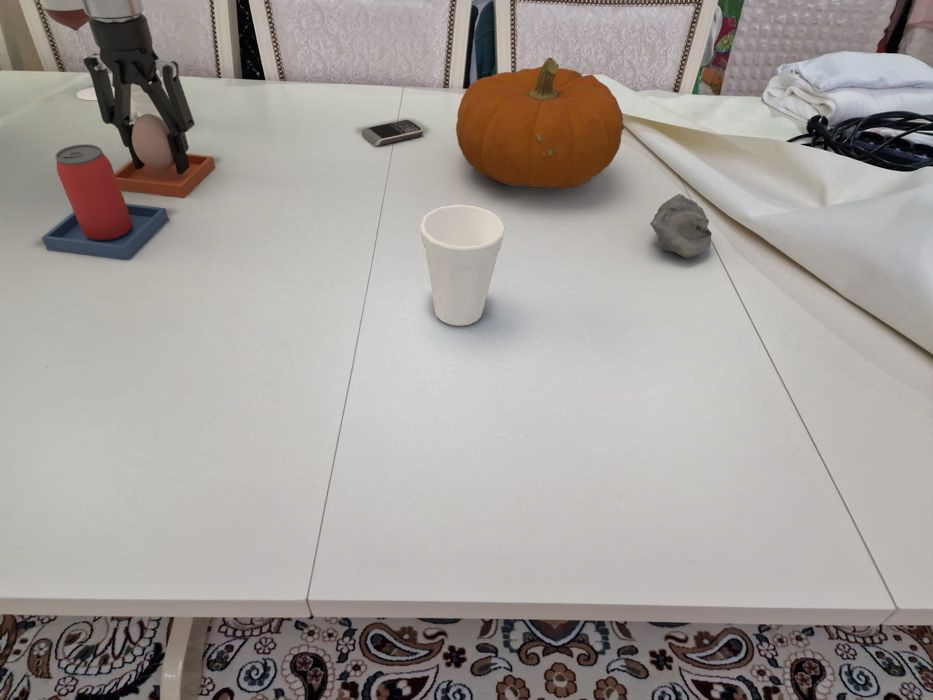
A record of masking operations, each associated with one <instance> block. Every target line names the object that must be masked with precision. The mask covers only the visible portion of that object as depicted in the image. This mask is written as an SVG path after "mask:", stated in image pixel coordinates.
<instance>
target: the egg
mask: <svg viewBox="0 0 933 700" xmlns="http://www.w3.org/2000/svg"><path fill="white" fill-rule="evenodd" d="M133 124H134V127H133V131H132V144H133V147H134V150H135V153H136V155H137V156H138V158H139V159H140V160H141V161H142V162H143V163H144V164H145V165H146V166H148V167H149V168H151V169H154V170H158V171H164V170H168V169H169V168H171V167H172V166H173V165H174V164H175V163H174V159H173V156H172V152H171V149H170V145H169V142H168V138H167V134H169V133H170V130H169V129H168V127H167V125H166V124H165V122H164V121H163V120H162V119H161V118H160V117H158V116H155V115H152V114H144V115H142V116H140V117H139V118H138V117H137V119H136V120H135V122H134V123H133Z"/></svg>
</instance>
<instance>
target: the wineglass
mask: <svg viewBox="0 0 933 700" xmlns="http://www.w3.org/2000/svg"><path fill="white" fill-rule="evenodd" d="M39 2H40V5H42V7H43V9H44V11H45V12H46V13H47V15H48V16H49V17H50V18H51V20H53V21H55V22H56V23H58V24H60V25H62V26H65V27H67V28H69V29H72V30H73V32H74V35H75V38H76V40H77V44H78V46H79V49H80V52H81V56H82V58H83V60H84V59H85V58H87V57H89V55H88V53H87V50H86V48H85V45H84V41H83V38H82V36H81V33H80V30H79V29H80V28H82V27H84V25H86V24H87V23H89V22H88V21H89V19H90V16H88V15H87V14H86V13H85V11H84V8H83V5H82V2H81V0H39ZM87 72H88V75H89V78H90V80H91V83H92V86H90V87H86V88H83V89H84V90H83V89H81V90H79V91H78V92H76V94H77V96H76V98H78V99H80V100H84V101H97V97H96V93H95V89H94V85H93V82H92V78H91V74H90V73H89V71H88V70H87ZM111 87H112V91H113V95H114V87H113V86H111Z"/></svg>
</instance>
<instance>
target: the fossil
mask: <svg viewBox="0 0 933 700" xmlns="http://www.w3.org/2000/svg"><path fill="white" fill-rule="evenodd" d="M698 204H699V203H697V202H696V201H694V200H692V199H690V198H687V197H686V196H685V195H683V194H681V193H678V194H676V195H674V196H672V197H671V198H670V199H667V200H666V201H665V202H663V203H662V204H661V205H660V206H659V207H658V209H657V212H656V213H655V214H654V216H653V219H652V220H651V221H650V222H649V225H650V226H651V227H652V229H653V230H654V233H655V234H656V236H657V237H658V247H659V250H661V251H664V252H668V253H676V254H677V255H679V256H681V257H683V258H685V259H690V258H694V257H696V256H698V255H701V254H703V253H705V252H706V251H707V250H708V249H709V248H710V246H711V243H712V233H713V232H712V231H711V230H710V228H708V226H709V222H710V220H709V218H708V217H707V215H706V212H705V210H704V209H703V208H702V206H700V205H698Z"/></svg>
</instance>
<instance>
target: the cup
mask: <svg viewBox="0 0 933 700" xmlns="http://www.w3.org/2000/svg"><path fill="white" fill-rule="evenodd" d="M419 231H420V238H421V243H422V245H423V248H424V250H425V255H426V262H427V269H428V274H429V275H428V276H429V280H430V281H429V282H430V287H431V295H432V301H433V306H434V313H435V316H436V317H437V318H438V320H440V321H441V322H442V323H445V324H447V325H450V326H457V327H461V326H469V325H471V324H475V323H476V322H477V321H478V320H480V319H481V318H482V315H483V312H484V308H485V303H486V300H487V296H488V293H489V289H490V285H491V282H492V278H493V273H494V270H495V267H496V262H497V258H498V255H499V252H500V251H501V248H502V244H503V239H504V235H505V231H506V226H505V225H504V223H503V221H502V219H501V218H500V217H499V216H498V215H496V214H495V213H494V212H492V211H491V210H488V209H485V208H482V207H480V206H475V205H469V204H468V205H467V204H452V205H445V206H441V207H438V208H434V209H433V210H431V211H430V212H429V213H427V214H425V215H424V216H423V217H422V219H421V221H420V223H419Z"/></svg>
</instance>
